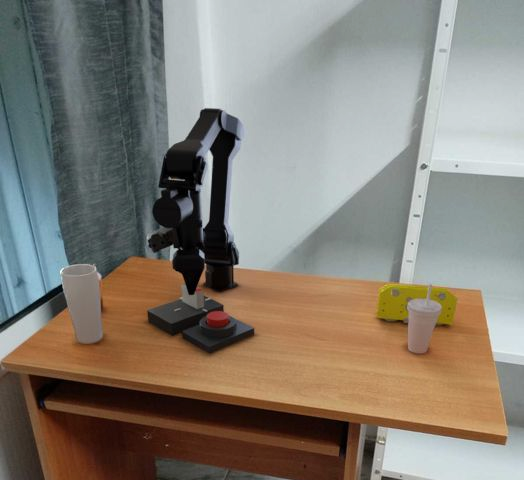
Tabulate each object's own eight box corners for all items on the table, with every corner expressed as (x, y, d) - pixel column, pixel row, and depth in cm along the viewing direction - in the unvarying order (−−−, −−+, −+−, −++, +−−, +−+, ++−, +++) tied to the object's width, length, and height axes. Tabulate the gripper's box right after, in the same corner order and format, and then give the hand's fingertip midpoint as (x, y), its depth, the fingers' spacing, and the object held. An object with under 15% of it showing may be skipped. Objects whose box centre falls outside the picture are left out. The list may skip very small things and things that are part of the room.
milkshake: (110, 305, 124) (104, 264, 119) (102, 315, 120) (95, 272, 115) (91, 304, 125) (84, 263, 120) (82, 314, 120) (75, 272, 115)
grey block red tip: (182, 301, 119) (181, 284, 117) (188, 299, 120) (187, 282, 118) (197, 309, 116) (196, 291, 113) (204, 307, 117) (203, 289, 115)
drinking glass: (113, 335, 111) (104, 266, 104) (91, 349, 106) (80, 278, 98) (88, 329, 114) (77, 261, 106) (65, 342, 108) (52, 272, 101)
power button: (219, 316, 112) (219, 309, 111) (233, 323, 110) (233, 315, 109) (202, 322, 110) (202, 315, 109) (216, 330, 107) (216, 322, 106)
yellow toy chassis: (376, 322, 118) (380, 286, 114) (376, 311, 123) (380, 277, 119) (451, 328, 115) (459, 293, 111) (448, 317, 120) (455, 282, 116)
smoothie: (415, 359, 104) (427, 292, 97) (394, 345, 109) (403, 280, 102) (440, 352, 106) (453, 286, 99) (418, 338, 111) (429, 275, 104)
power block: (226, 321, 118) (226, 306, 116) (254, 335, 112) (254, 320, 110) (182, 338, 110) (180, 323, 109) (209, 354, 105) (208, 338, 103)
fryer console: (198, 304, 125) (197, 291, 124) (225, 317, 119) (224, 304, 118) (147, 322, 117) (145, 308, 115) (173, 337, 111) (172, 323, 109)
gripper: (151, 203, 116) (158, 271, 123) (142, 228, 99) (150, 305, 107) (203, 202, 116) (206, 270, 124) (202, 227, 100) (206, 303, 108)
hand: (192, 286), depth 116 cm, fingers open, 9 cm apart
